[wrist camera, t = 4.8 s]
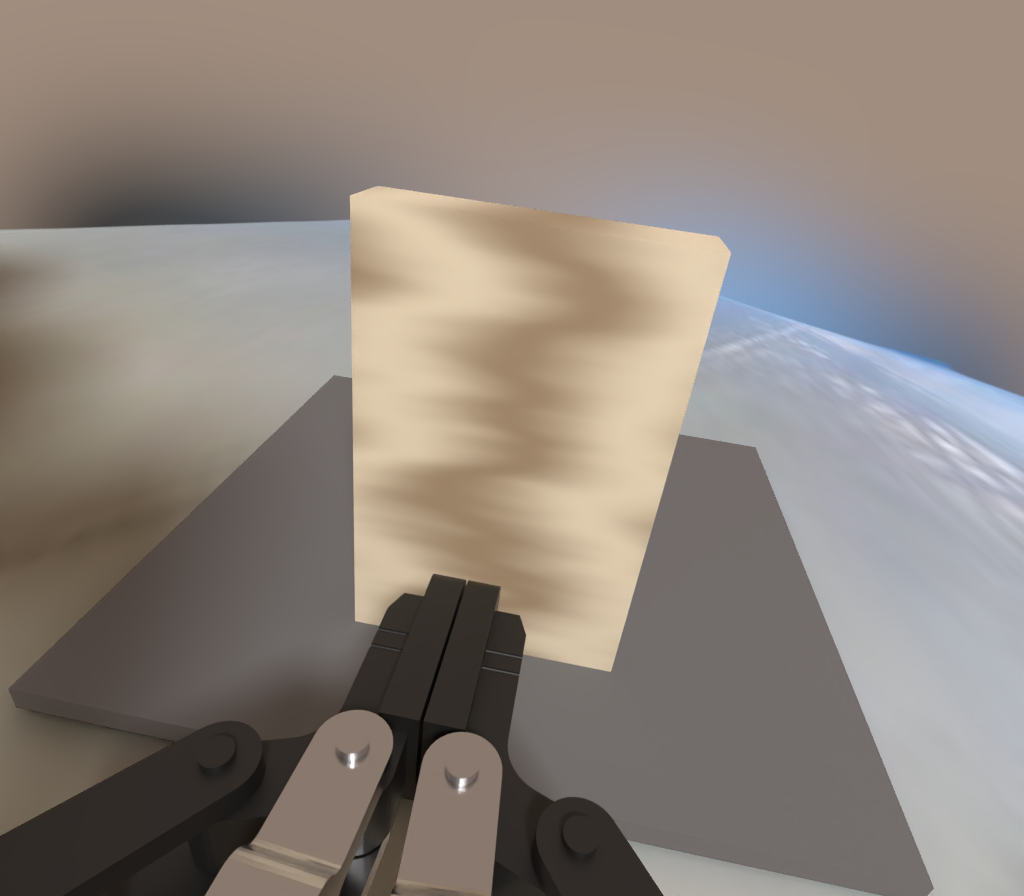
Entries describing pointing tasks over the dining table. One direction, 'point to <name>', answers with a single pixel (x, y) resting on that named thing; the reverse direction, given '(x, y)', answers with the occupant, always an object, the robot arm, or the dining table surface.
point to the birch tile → (518, 404)
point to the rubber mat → (523, 661)
